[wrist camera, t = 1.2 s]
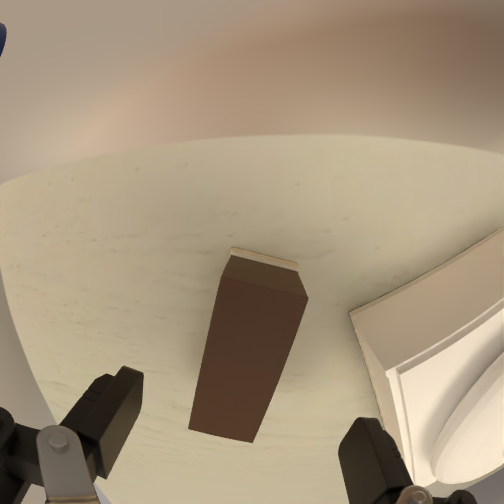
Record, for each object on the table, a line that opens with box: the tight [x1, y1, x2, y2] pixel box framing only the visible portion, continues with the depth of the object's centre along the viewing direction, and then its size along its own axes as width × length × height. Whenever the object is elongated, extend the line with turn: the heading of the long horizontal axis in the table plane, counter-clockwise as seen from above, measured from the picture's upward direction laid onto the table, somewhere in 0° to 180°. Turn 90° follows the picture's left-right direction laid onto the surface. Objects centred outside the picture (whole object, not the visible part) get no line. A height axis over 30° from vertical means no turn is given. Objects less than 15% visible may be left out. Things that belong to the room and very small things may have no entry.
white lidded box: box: [349, 228, 504, 488], centre depth 15 cm, size 18×18×16 cm
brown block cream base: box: [188, 247, 308, 443], centre depth 19 cm, size 12×5×6 cm, turn 166°
